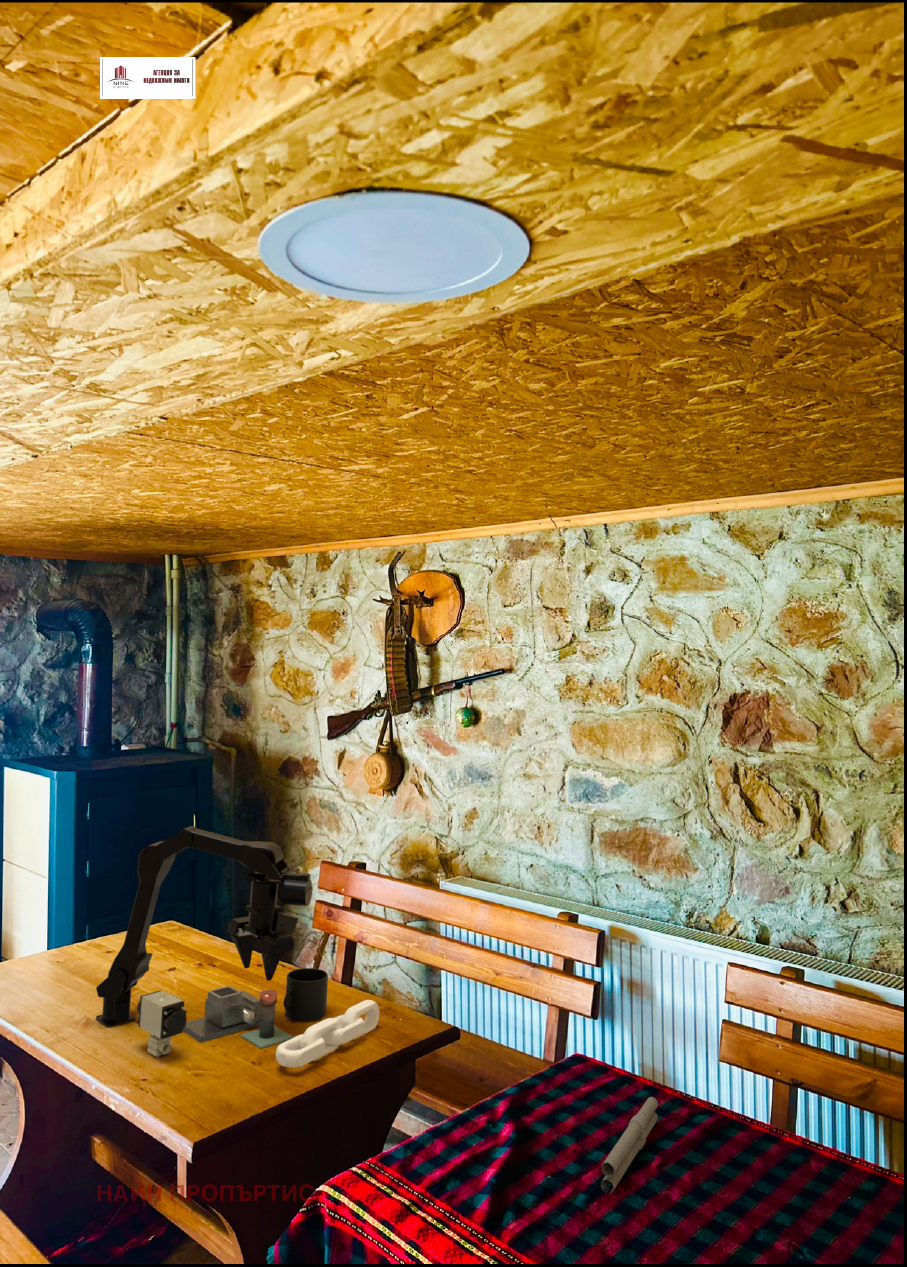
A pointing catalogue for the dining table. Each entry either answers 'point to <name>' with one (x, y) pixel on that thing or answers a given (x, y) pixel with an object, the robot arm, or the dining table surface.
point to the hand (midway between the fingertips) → (257, 973)
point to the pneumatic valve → (161, 1020)
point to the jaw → (224, 1006)
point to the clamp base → (209, 1030)
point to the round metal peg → (267, 1013)
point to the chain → (328, 1035)
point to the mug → (306, 994)
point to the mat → (262, 1043)
